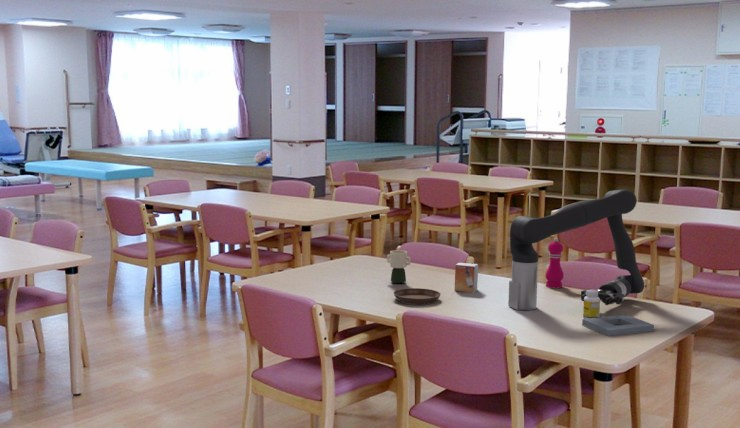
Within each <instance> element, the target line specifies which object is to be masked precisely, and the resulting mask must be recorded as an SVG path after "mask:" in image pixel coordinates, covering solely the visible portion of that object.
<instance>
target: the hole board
mask: <svg viewBox="0 0 740 428" xmlns="http://www.w3.org/2000/svg"><path fill="white" fill-rule="evenodd" d="M581 321H582V322H581V323H582V324H581V325H582V326H584V327H586V328H589V329H590V330H593V331H596V332H598V333H600V334H602V335H605V336H606V337H614V336H622V335H632V334H637V333H638V334H639V333H640V334H641V333H646V332H647V333H648V332H654V331H655V324H653V323H650V322H648V321H644V320H643V319H639V318H637V317H634V316H631V315H629V314H618V315H610V316H601V317H600V316H599V317H598V318H589V319H584V318H582V320H581Z"/></svg>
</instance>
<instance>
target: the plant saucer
mask: <svg viewBox="0 0 740 428" xmlns="http://www.w3.org/2000/svg"><path fill="white" fill-rule="evenodd" d="M393 295H394V297H395V298H396V300H397V301H398V302H400V303H403V304H406V305H419V306H420V305H430V304H434V303H436V301H438V299H439V298H440V297H441V295H442V294H441V292H440V291H437V290H433V289H428V288H419V287H418V288H416V287H415V288H414V287H413V288H401V289H396V290H394V291H393Z"/></svg>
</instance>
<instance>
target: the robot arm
mask: <svg viewBox="0 0 740 428" xmlns="http://www.w3.org/2000/svg"><path fill="white" fill-rule="evenodd" d="M636 206H637V196H636V195H635V193H633V191H631V190H628V189H614V190H609V191H607V192H606V193H605V194H604V196H603V197H602V198H594V199H586V200H580V201H576V202H573V203H569V204H566V205H564V206H562V207H560V208H559V209H557V211H556V212H555V213H553V214H550V215H546V216H542V217H530V216H526V215H519V216H516V217H515V218H514V219H513V221H512V222H511V224H510V229H509V230H510V231H509V247H510V254H511V257H512V258H511V259H512V260H511V280H509V283H508V303H507V304H508V307H509V308H512V309H513V310H514V309H515V310H516V311H518V310H520V311H533V310H536V309H537V304H538V303H537V301H538V277H539V275H538V274H539V254H538V252H537V251H536V250H535V248H534V246H533V244H536V243H539V242H541V241H543V240H545V239H547V238H551V237H552V236H554V235H558V234H562V233H565V232H569V231H572V230H576V229H579V228H582V227H586V226H588V225H591V224H594V223H596V222H598V221H601V220H603V219H607V223H608V226H609V230H610V233H611V237H612V240H613V244H614V253H615V259H616V265H617V268H618V269H619V270H622V271H623V270H624V271H628V273H629V274H627V275H623V274H622V275H618V276H616V277H615V279H614V280H611V281H609V282H606V283H604V284H602V285H600V287H599V288H597V289H596V290H597V291H598V296H597V297H599V298H600V302H602V303H603V304H604V305H605V306H608V305H609V306H610V305H613V304H615V305H621V304H622V303H624V302H625V297H628V296H629V295H630V294H641V293H642V292H643V291H644V289H645V280H644V278H643V276H642V274H641V272H640V269H639V266H638V263H637V259H636V258H637V257H636V249H635V246H634V243H633V240H632V239H631V236H630V235H629V233H628V231H627V229H626V226H625V224H624V221H623V215H626V214H629V213H631V212H632V211H633V210H634V209H635V207H636ZM586 290H592V289H591V288H587V289H584V290H582V291H580V300H581V302H584V297H585V296H587V295H586Z"/></svg>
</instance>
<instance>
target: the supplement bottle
mask: <svg viewBox="0 0 740 428" xmlns="http://www.w3.org/2000/svg"><path fill="white" fill-rule="evenodd" d="M585 290H586V289H585ZM597 290H598V289H591V290H586V295H587V296H585V297H584V301H583V309H582V311H583V313H582V316H583V318H582V319H589V318H598V317H600V309H601V308H600V305H601V301H600V298H599V297H597V296H598V291H597Z"/></svg>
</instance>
